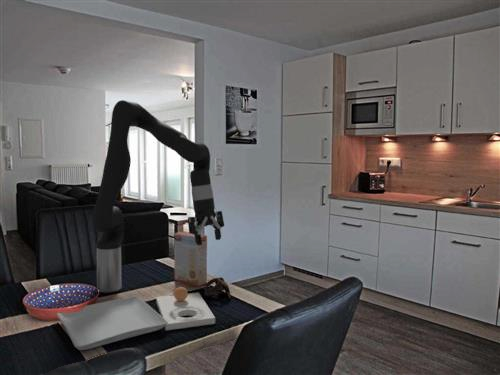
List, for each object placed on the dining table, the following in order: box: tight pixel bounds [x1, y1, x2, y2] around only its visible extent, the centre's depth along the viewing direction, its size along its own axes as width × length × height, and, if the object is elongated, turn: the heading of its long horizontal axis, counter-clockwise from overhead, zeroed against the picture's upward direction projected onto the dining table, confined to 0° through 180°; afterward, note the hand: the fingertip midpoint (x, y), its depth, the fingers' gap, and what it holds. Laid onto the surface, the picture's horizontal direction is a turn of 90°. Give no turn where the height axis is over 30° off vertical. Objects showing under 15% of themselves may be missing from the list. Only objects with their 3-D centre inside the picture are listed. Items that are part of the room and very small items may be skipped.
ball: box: [173, 286, 189, 301], centre depth 144 cm, size 5×5×5 cm
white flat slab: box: [155, 292, 216, 331], centre depth 139 cm, size 16×24×2 cm, turn 20°
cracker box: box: [173, 231, 208, 287], centre depth 170 cm, size 14×6×21 cm, turn 54°
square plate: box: [56, 295, 168, 351], centre depth 127 cm, size 27×27×4 cm
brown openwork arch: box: [203, 276, 232, 299], centre depth 156 cm, size 12×10×8 cm
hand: (209, 242), depth 145 cm, fingers open, 8 cm apart
